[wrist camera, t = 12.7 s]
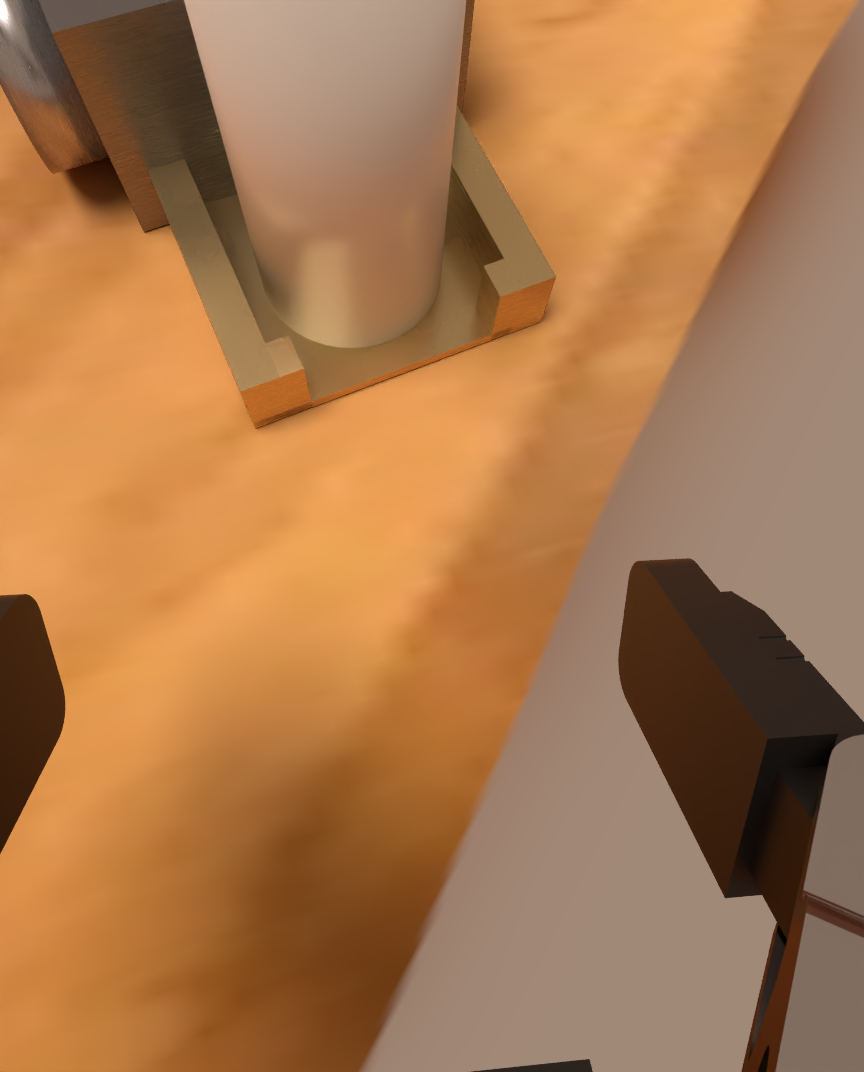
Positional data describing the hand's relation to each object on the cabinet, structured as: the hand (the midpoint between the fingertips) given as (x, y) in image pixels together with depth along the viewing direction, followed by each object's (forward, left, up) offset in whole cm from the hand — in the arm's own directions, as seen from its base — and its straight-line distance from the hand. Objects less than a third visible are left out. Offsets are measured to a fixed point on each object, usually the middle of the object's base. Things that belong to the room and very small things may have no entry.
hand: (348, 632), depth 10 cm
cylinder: (-11, +4, -7) cm, 14 cm away
